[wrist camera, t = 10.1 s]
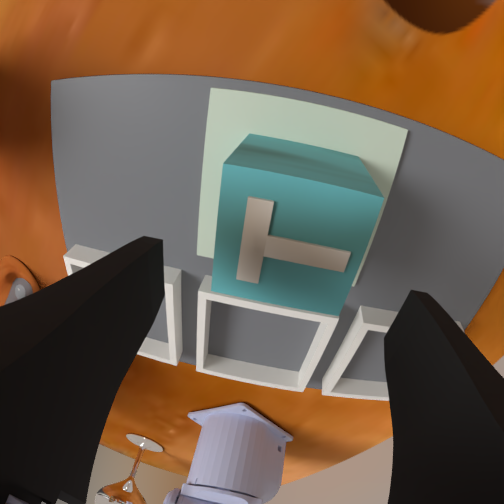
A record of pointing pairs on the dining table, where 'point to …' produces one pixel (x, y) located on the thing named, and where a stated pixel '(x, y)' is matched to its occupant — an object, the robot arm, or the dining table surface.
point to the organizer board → (206, 211)
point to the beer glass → (15, 280)
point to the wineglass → (126, 492)
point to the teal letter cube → (292, 224)
